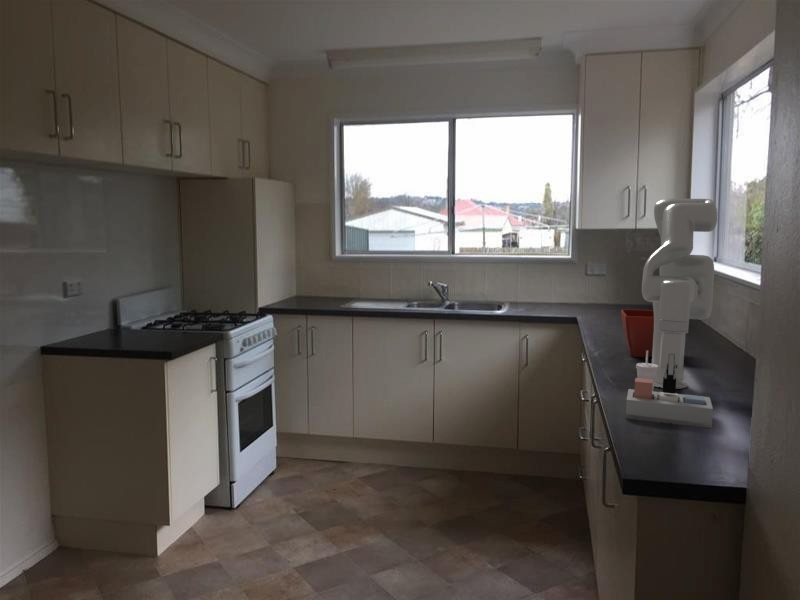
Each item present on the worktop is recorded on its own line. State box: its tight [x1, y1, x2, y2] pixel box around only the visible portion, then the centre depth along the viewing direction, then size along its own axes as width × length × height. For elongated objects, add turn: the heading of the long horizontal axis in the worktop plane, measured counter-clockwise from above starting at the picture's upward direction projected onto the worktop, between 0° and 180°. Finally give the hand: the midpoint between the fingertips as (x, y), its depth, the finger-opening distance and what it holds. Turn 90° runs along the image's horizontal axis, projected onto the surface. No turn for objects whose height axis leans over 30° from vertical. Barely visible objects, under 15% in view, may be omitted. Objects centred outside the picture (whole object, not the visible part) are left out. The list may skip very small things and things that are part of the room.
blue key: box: [684, 394, 705, 405], centre depth 173 cm, size 4×4×4 cm
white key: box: [659, 391, 679, 402], centre depth 175 cm, size 4×4×4 cm
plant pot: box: [620, 308, 654, 358], centre depth 256 cm, size 19×19×17 cm
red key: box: [634, 377, 653, 399], centre depth 177 cm, size 4×4×4 cm
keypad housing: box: [625, 388, 714, 429], centre depth 175 cm, size 12×21×5 cm, turn 68°
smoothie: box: [635, 351, 658, 391], centre depth 195 cm, size 6×6×14 cm
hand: (668, 392), depth 175 cm, fingers closed
